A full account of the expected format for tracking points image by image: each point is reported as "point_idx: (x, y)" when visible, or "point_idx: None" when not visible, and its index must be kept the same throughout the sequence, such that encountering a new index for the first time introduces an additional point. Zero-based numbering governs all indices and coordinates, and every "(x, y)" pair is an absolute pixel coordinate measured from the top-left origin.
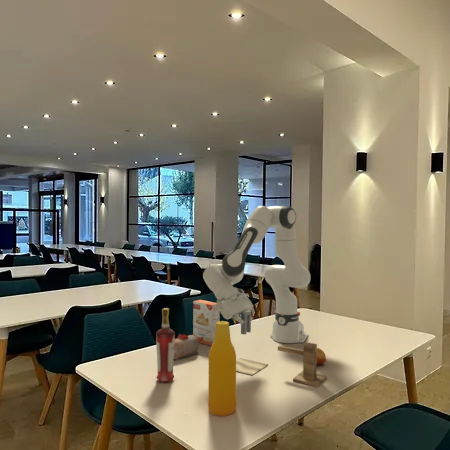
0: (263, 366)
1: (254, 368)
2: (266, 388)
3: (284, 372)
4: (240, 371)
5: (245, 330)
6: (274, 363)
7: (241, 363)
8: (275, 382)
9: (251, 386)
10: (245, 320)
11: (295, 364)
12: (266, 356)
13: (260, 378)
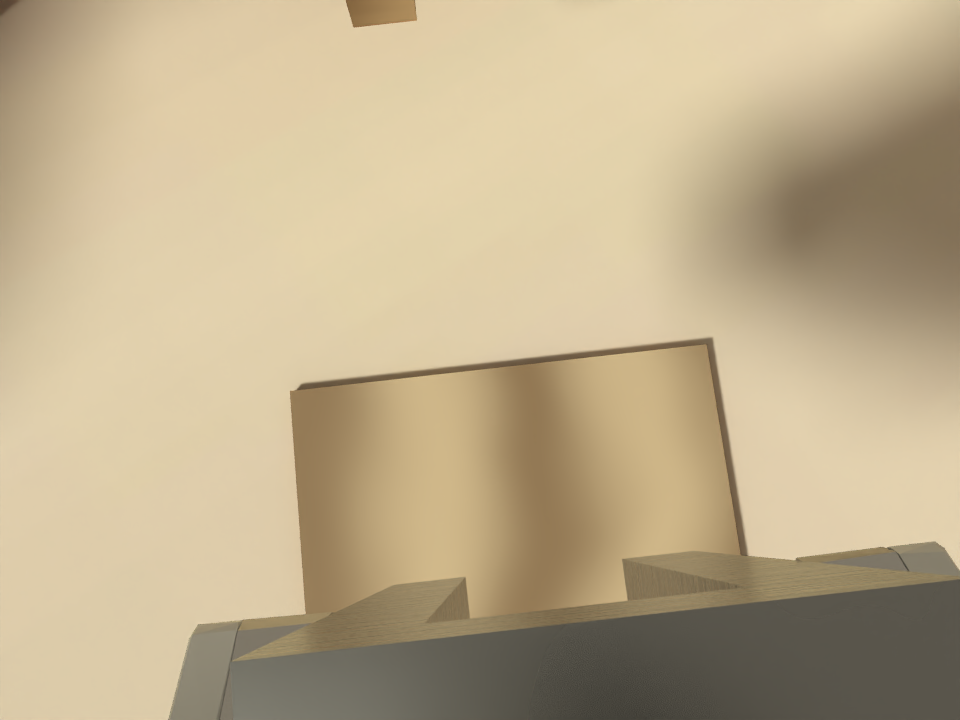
0: (391, 391)
1: (522, 440)
2: (869, 41)
3: (370, 125)
4: (723, 517)
5: (690, 556)
6: (184, 366)
7: None
8: (678, 54)
9: (944, 181)
10: (783, 566)
11: (63, 156)
12: (9, 598)
13: (700, 230)
